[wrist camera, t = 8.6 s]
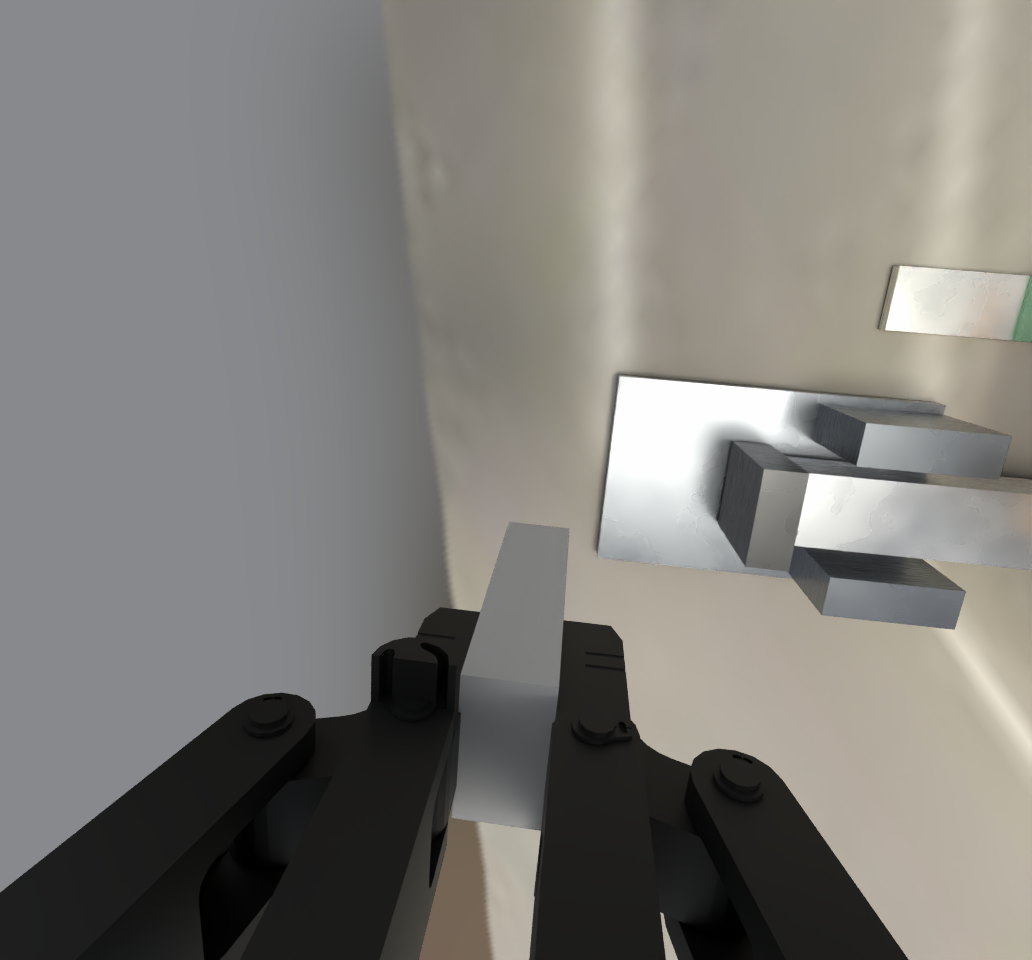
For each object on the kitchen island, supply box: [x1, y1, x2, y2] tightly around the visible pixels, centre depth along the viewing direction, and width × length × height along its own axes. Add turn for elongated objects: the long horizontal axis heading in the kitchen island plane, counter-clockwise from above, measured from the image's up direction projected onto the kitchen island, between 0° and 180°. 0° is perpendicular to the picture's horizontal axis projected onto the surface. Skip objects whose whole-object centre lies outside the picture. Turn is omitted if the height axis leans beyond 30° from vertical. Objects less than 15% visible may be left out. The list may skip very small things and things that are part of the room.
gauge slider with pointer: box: [718, 441, 1032, 571], centre depth 24 cm, size 11×15×5 cm
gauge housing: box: [597, 266, 1032, 629], centre depth 26 cm, size 14×20×5 cm
